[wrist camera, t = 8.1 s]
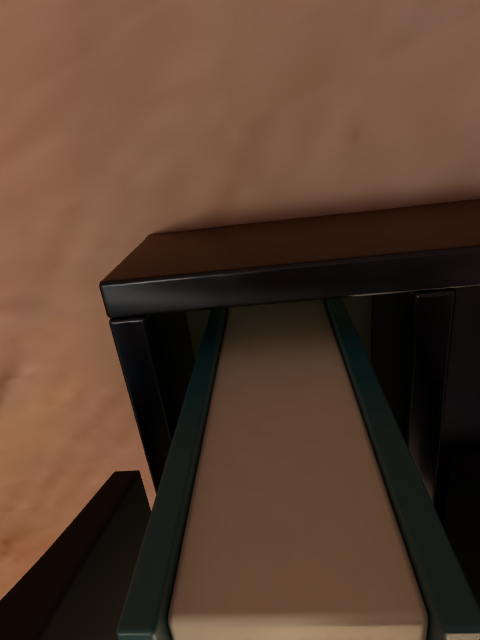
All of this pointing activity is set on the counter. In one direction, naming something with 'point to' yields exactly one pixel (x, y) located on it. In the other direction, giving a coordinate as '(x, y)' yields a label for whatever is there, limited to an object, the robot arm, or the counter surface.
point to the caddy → (317, 284)
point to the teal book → (292, 498)
